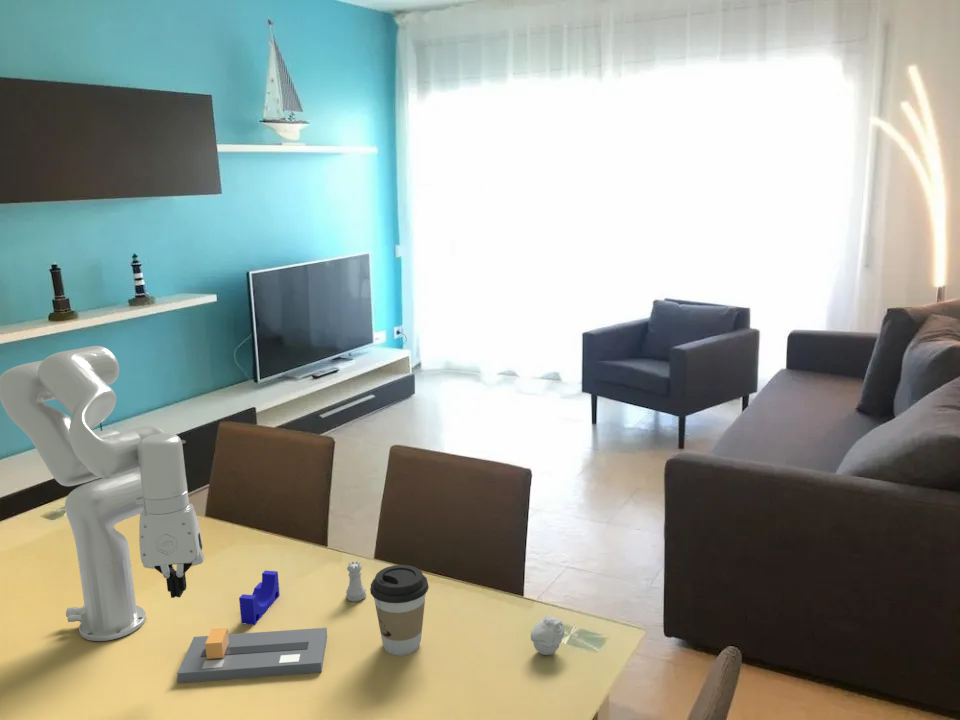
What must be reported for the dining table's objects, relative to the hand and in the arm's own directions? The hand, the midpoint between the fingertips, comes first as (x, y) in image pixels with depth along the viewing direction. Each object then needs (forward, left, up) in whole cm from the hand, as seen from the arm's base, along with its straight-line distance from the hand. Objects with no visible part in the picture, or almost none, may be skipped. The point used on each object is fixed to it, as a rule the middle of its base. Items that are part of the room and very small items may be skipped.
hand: (177, 593), depth 147 cm
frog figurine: (+69, -5, -15) cm, 71 cm away
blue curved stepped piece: (+10, +19, -15) cm, 27 cm away
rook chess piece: (+31, +21, -15) cm, 41 cm away
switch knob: (+6, 0, -13) cm, 14 cm away
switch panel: (+13, 0, -15) cm, 20 cm away
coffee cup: (+41, +1, -15) cm, 44 cm away
